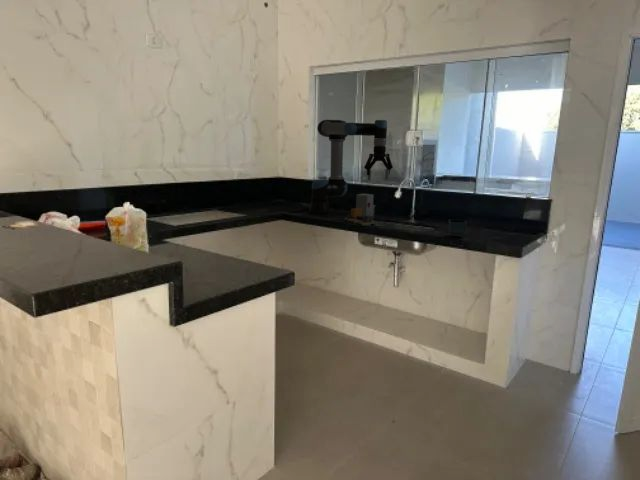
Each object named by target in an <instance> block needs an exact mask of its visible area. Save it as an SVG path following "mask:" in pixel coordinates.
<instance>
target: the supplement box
mask: <svg viewBox="0 0 640 480" xmlns="http://www.w3.org/2000/svg"><path fill="white" fill-rule="evenodd" d="M355 199H356V200H355V208H360V209H362V216H361V217H363V218H364V216H368V215H369V216H372V217H373V213H374V212H373V211H374V194H373V193H372V194H371V193H358V194H356V198H355Z"/></svg>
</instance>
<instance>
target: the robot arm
mask: <svg viewBox="0 0 640 480" xmlns="http://www.w3.org/2000/svg"><path fill="white" fill-rule="evenodd" d="M316 129H317V132H318V134H319V135H320V136H321V137H325V138H328V141H330V176H329V177H328V178H327V179H326V178H323V179H315V180H313V181H312V183H311V201H310V202H311V203H310V205H309V209H308V213H309V214H313V215H328V214H330V213H331V208H330V204H329V198H342V197H344V196H345V195H346V194H347V192H348V183H347V181H346V180H345V178H344V175H343V164H344V163H343V160H344V159H343V158H344V157H343V156H344V142H345V141H346V138H347V137H348V136H364V137H365V136H367V137H368V136H369V137H370V136H371V137H372V136H373V145H374V146H373V153H369V155H368V158H367V160H366V163H365V165H364V167H363V168H364V169H365V171H366V175H367V181H368V182H369V181H371V180H372V168H373V166H374V165H375V164H376V163H377V162H382V164H383V165H384V167H385V168H386V169H385V174H384V175H385V176H384V180H385V181H390V180H389V179H390V174H391V170H392V169H393V168H394V165H393V164H392V160H391V158H390V153H386V152H387V151H386V150H387V149H386V148H387V147H386V145H387V135H388V134H387V133H388V120H385V119H376V120H374V123H369V122H367V123H366V122H365V123H364V122H347V121H346V120H341V119H324V120H321V121H320V122H319V123H318V124H317V128H316Z"/></svg>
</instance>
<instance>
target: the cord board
mask: <svg viewBox="0 0 640 480" xmlns="http://www.w3.org/2000/svg"><path fill="white" fill-rule="evenodd" d="M346 220H347V221H346ZM344 221H346V222H349V221H351V222H350V223H352V222H354V223H353V224H356V223H358V224H357V225H359V224H361V225H360V226H362V225H363V226H362V227H364V225H366V226H372V225H371V224H375V225H379V221H377V220H373V216H369V215H368V216H364V217H362V216H361V217H359V216H357V218H356V219H355V218H352V215H351V213H349V214H346V216H345V218H344Z"/></svg>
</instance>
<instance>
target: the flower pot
mask: <svg viewBox="0 0 640 480" xmlns="http://www.w3.org/2000/svg"><path fill="white" fill-rule="evenodd" d="M467 225H468V222H467V221H466V220H464V219H448V231H449V233H451V234H454V235H463V236H464V235H465V232H466V229H467ZM451 234H450V235H451Z"/></svg>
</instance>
